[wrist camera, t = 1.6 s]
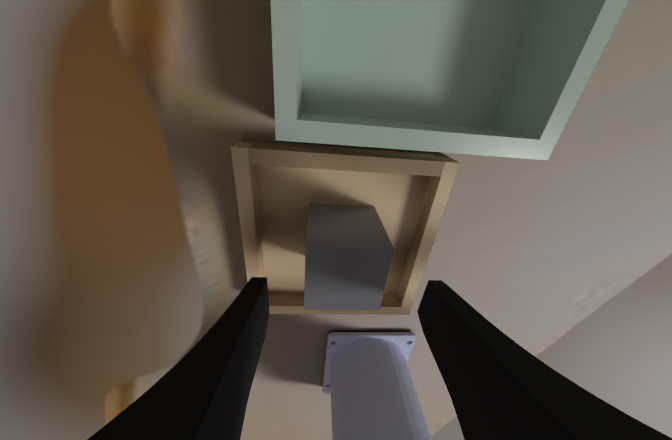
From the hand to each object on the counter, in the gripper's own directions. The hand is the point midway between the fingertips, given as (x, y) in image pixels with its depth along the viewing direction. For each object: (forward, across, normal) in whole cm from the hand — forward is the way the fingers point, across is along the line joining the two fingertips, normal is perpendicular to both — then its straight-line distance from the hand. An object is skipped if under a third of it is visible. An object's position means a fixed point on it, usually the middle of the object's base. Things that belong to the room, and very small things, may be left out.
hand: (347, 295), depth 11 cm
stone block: (+5, 0, 0) cm, 5 cm away
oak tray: (+6, 0, +1) cm, 6 cm away
